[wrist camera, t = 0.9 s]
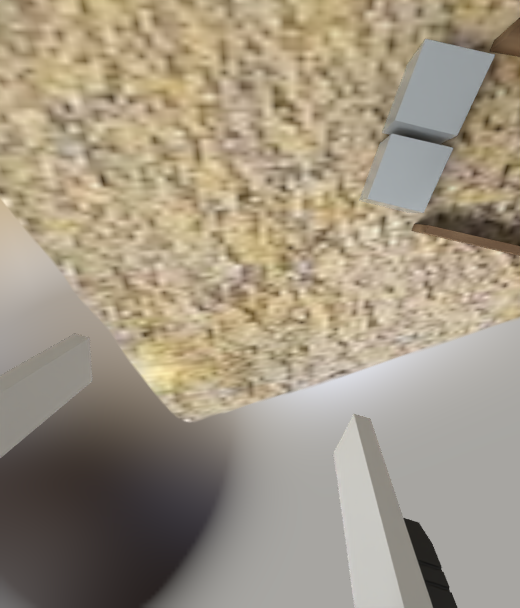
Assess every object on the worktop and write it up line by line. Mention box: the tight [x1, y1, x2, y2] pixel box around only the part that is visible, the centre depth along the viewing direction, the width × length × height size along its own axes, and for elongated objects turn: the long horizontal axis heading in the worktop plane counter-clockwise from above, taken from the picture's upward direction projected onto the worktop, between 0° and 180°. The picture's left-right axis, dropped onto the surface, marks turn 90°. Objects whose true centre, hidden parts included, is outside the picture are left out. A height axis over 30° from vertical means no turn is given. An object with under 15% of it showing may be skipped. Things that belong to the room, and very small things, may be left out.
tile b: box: [359, 134, 453, 213], centre depth 26 cm, size 6×6×4 cm
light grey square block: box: [382, 39, 495, 144], centre depth 24 cm, size 6×6×4 cm
